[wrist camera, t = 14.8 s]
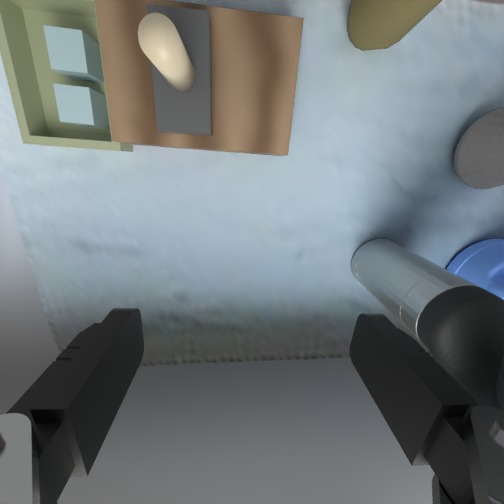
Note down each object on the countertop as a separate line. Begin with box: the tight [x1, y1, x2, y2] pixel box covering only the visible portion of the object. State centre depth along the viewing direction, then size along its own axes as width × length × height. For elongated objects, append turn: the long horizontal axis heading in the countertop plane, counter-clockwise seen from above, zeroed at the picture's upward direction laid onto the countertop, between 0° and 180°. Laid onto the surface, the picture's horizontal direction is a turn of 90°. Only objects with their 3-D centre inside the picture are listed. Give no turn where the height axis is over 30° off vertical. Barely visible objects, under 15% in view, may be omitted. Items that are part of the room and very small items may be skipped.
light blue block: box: [53, 84, 110, 129], centre depth 31 cm, size 4×4×4 cm
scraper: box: [138, 4, 213, 136], centre depth 23 cm, size 6×11×10 cm, turn 177°
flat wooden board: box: [95, 0, 303, 156], centre depth 30 cm, size 22×14×6 cm, turn 86°
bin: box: [0, 0, 133, 152], centre depth 30 cm, size 12×16×4 cm
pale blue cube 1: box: [43, 25, 104, 83], centre depth 29 cm, size 4×4×4 cm
